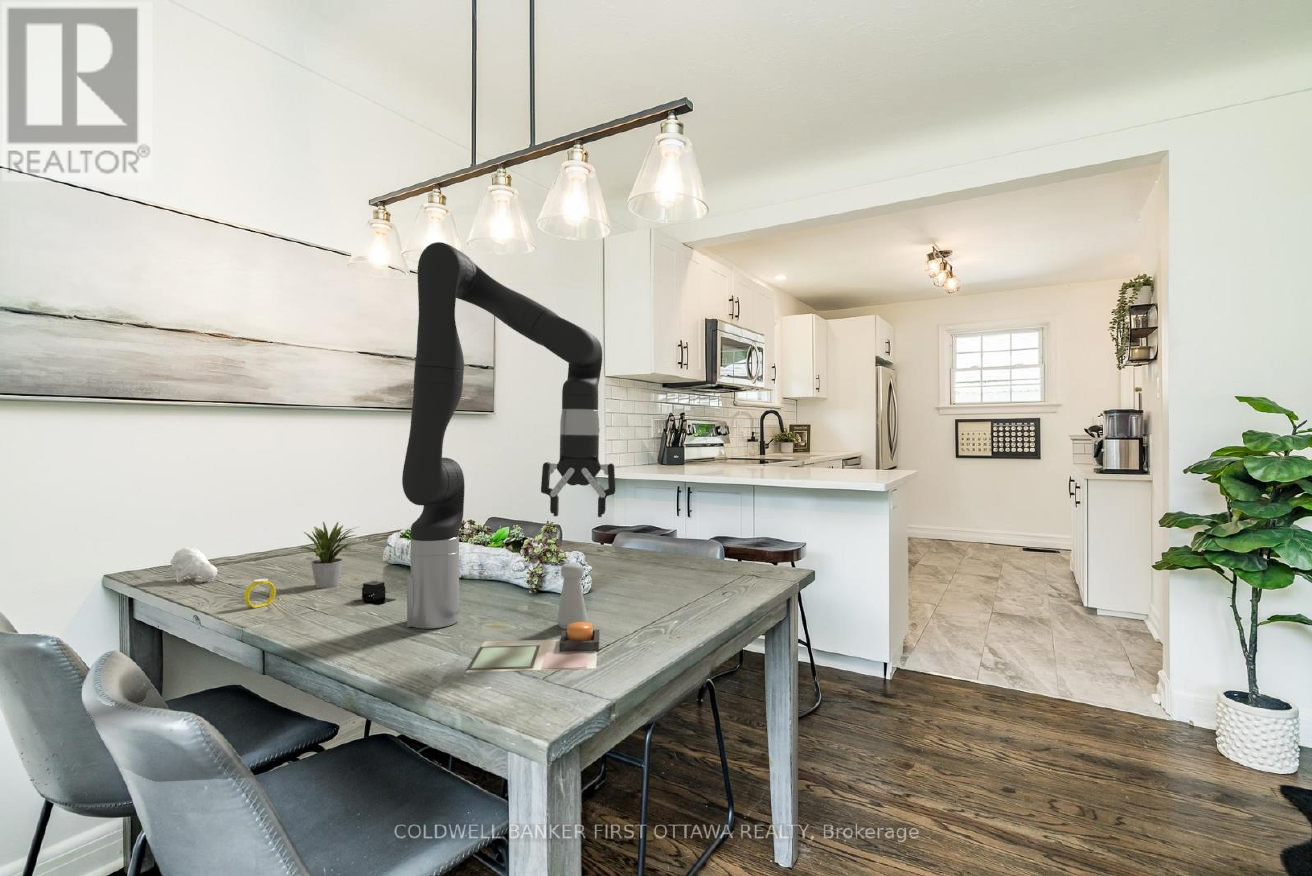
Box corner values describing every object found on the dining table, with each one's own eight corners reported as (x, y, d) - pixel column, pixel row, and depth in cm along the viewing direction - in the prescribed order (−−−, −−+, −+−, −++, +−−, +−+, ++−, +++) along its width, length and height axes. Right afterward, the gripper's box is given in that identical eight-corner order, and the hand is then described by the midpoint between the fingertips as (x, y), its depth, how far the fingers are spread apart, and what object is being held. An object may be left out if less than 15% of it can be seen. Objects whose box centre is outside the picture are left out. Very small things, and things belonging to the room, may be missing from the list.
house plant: (353, 591, 146) (353, 524, 146) (288, 595, 142) (288, 526, 142) (364, 578, 159) (364, 516, 159) (305, 581, 155) (305, 518, 155)
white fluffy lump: (193, 544, 161) (227, 550, 158) (191, 575, 161) (225, 582, 158) (168, 548, 155) (203, 555, 152) (166, 581, 155) (200, 588, 152)
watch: (269, 603, 136) (271, 577, 136) (277, 605, 135) (278, 578, 135) (241, 608, 131) (243, 581, 131) (248, 610, 129) (250, 582, 130)
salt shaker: (581, 637, 112) (581, 568, 112) (552, 635, 113) (552, 566, 113) (591, 627, 118) (591, 561, 118) (563, 626, 119) (563, 560, 119)
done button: (566, 641, 102) (566, 630, 102) (568, 633, 107) (568, 622, 107) (592, 641, 103) (592, 629, 103) (593, 632, 107) (593, 621, 107)
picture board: (457, 683, 91) (457, 665, 91) (479, 646, 107) (479, 631, 107) (602, 678, 93) (602, 661, 93) (603, 643, 109) (603, 628, 109)
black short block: (405, 601, 139) (405, 582, 139) (379, 610, 132) (379, 589, 132) (367, 596, 144) (367, 577, 144) (340, 603, 137) (340, 584, 137)
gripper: (539, 432, 113) (538, 518, 113) (615, 433, 113) (614, 519, 113) (545, 432, 120) (544, 513, 120) (616, 433, 121) (615, 514, 121)
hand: (578, 516), depth 117 cm, fingers open, 8 cm apart
